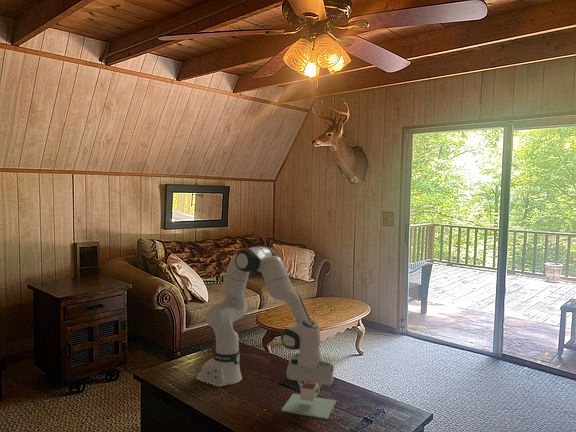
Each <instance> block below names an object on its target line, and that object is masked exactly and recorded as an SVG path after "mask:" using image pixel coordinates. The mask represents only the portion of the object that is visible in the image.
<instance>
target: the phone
mask: <svg viewBox="0 0 576 432" xmlns="http://www.w3.org/2000/svg"><path fill="white" fill-rule="evenodd" d="M304 382H305V381H302V382H301V383H302V385H303V384H304ZM279 384H280V386H284V387H287V388H289V389H294V390H296V391H299V392H301V390H300V386H299V384H298V380H291V379H288V378H287V377H285V378H284V379H282V380H280V381H279Z"/></svg>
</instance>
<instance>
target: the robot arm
mask: <svg viewBox="0 0 576 432" xmlns="http://www.w3.org/2000/svg"><path fill="white" fill-rule="evenodd" d="M256 272H260V273H261V275H262V276H263V279H264V280H263V281H264V283H265V287H266V291H267V293H268V295H269V296H270V297H271V298H272V299H275V300H276V301H279V302H280V301H281V302H283V303H286V304H287V305H288V306H289V307H290V309H291V311H292V314H293V317H294V318H295V319H294V320H295V321H296V324H293V325H290V326H288V327H286V328H284V329H283V330H282V331H281V334H280V341H281V343H282V345H283V347H284V348H286V349H287V350H292V351H295V350H296V351H299V353H295V354H292V356H291V357H290V358H289V359H288V365H287V367H286V378H288V379H291V380H298V384H299V386H300V390H301V387H302V383H301V382H302V381H303V382H312V383H318V386H319V387H317V388H316V393H318V394H320V392H321V387H323V386H322V385H324V386H325V385H326V386H327V385H328V386H331V385H332V384H333V382H334V380H335V379H334V371H335V369H334V368H335V367H334V364H333V363H331V362H330V361H323V360H321V351H320V346H321V331H320V327H319V325H318V323H316V322H314V321H312V320H311V318H310V317H309V313H308V312H307V310H306V307H305V305H304V302H303V300H302V298H301V296H300V294H299V292H298V290H297V289H295V288H294V287H295V286H293V284H292V282H291V280H290V276H289V273H288V271H287V269H286V266H285V264H284V261H283V260H282V258H281V257H280V256H278V255H276V252H275V251H274V249H273V248H271V247H270V246H265V245H262V246H253V247H249V248H244V249H243V248H242V249H241V250H239V251H238V252H237V253H235V254H234V255H232V257H231V258H230V261H229V263H228V265H227V268H226V271H225V275H224V279H223V283H222V287H221V290H222V291H223V293H225V295H224V296H225V297H224V299H223V301H221V302H218V303H216V304H213V305H212V306H211V307H210V308H208V309H207V310H206V312H205V320H206V323H207V324H208V325H209V326H210V327H211V328H212V329H213V331H214V332H213V333H214V335H215V336H214V337H215V349H214V350H213V352H212V353H211V356H212V358H209V359H208V360H207V361H206V362H205V363H204V364H203V365H202V367H201V370H200V372H199V373H198V374H196V377H195V378H196V379H197V380H200V381H199V382H201V381H202V383H204V382H206V383H205V384H208V383H209V384H208V385H211V384H212V386H214V387H219V388H220V387H223V386H224V387H225V386H227V385H228V386H229V385H234V384H237V383H239V382H241V381H242V379H243V376H242V373H241V369H240V368H241V367H240V357H241V356H240V355H241V354H240V353H241V352H240V349H239V347H240V346H239V345H240V343H239V341H240V340H239V333H238V332H237V331H235V330H234V326H233V323H234V322H236V321H238V320H241V319H242V318H243V317H244V316H245V315H247V312H248V310H249V309H248V308H249V307H248V303H247V302H246V300H245V292H246V287H247V283H248V280H249V275H250V273H256ZM196 379H195V380H196ZM197 380H196V381H197Z"/></svg>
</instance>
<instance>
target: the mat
mask: <svg viewBox="0 0 576 432" xmlns="http://www.w3.org/2000/svg"><path fill="white" fill-rule="evenodd" d="M336 403H337V400H334V399H329V398H325V397H324V398H323V397H317V396H316V398H315V399H314V401H307V400H301V393H300V394H297V393H292V394H291V396H290V397H289V399H288V400H287V401H286V402H285V404H284V405H283V407H282V408H281V410H280V412H282V413H283V412H284V413H288V414H294V415H300V416H306V417H310V418H316V419H323V420H328V419H329V417H330V415H331V413H332V411H333V409H334V407H335V405H336Z"/></svg>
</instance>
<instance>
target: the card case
mask: <svg viewBox="0 0 576 432" xmlns="http://www.w3.org/2000/svg"><path fill="white" fill-rule="evenodd" d="M303 382H304V384H303V385H302V387H301V391H300V395H301V400H307V401H314V399H315V398H316V397H317V396H318V394H319V393H316V388H317V387H319V386H318V383H312V382H305V381H303Z"/></svg>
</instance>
